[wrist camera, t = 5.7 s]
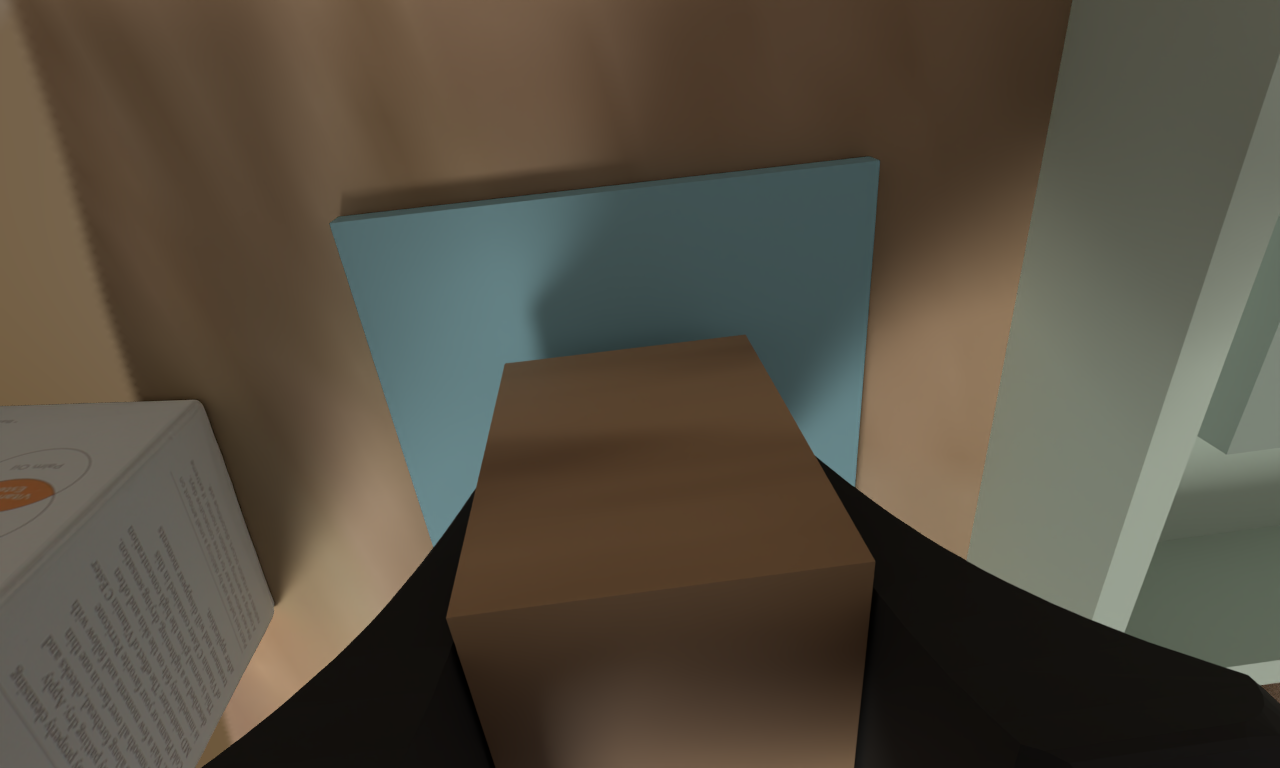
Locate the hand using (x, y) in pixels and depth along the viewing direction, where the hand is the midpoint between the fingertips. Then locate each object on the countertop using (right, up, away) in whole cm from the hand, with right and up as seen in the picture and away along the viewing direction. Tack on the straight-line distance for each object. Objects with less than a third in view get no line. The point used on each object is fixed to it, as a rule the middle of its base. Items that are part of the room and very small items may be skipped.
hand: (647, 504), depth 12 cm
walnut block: (0, +1, +1) cm, 2 cm away
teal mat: (0, +1, +3) cm, 3 cm away
